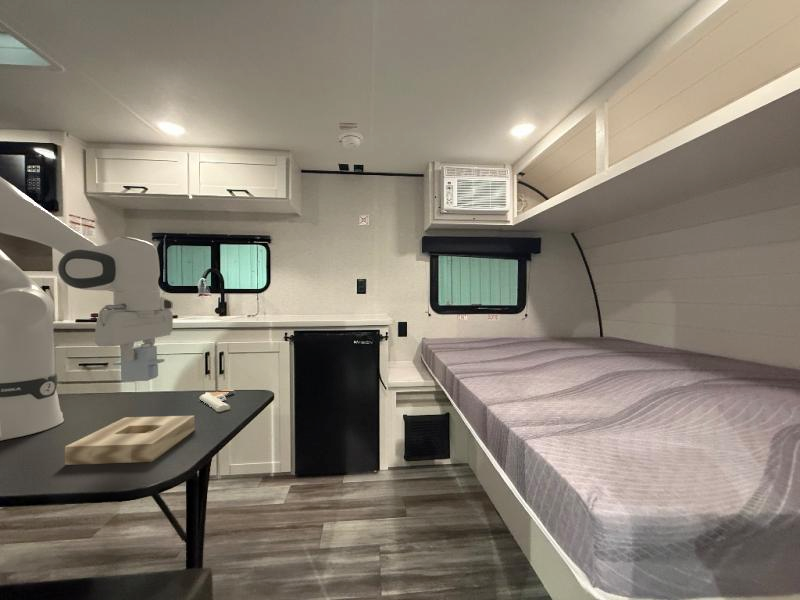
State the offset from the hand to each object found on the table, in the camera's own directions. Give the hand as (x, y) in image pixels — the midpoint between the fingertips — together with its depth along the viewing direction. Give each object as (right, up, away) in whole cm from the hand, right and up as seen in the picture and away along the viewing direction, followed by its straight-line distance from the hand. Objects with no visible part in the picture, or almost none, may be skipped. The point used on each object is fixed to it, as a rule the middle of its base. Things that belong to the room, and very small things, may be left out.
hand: (138, 358), depth 76 cm
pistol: (+3, -22, +31) cm, 38 cm away
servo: (0, -5, 0) cm, 5 cm away
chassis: (0, -21, -1) cm, 21 cm away
